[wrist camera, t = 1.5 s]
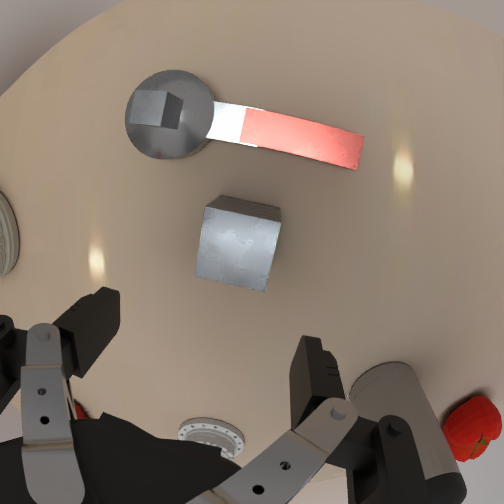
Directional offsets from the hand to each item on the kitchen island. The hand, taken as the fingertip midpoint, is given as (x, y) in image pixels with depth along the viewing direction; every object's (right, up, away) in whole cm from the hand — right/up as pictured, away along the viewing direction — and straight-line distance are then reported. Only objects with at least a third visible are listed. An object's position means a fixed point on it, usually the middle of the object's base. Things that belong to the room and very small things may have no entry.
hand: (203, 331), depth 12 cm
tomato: (+38, -24, +23) cm, 50 cm away
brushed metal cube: (+1, +5, +16) cm, 17 cm away
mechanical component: (-4, -25, +27) cm, 37 cm away
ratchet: (+1, +15, +13) cm, 20 cm away
